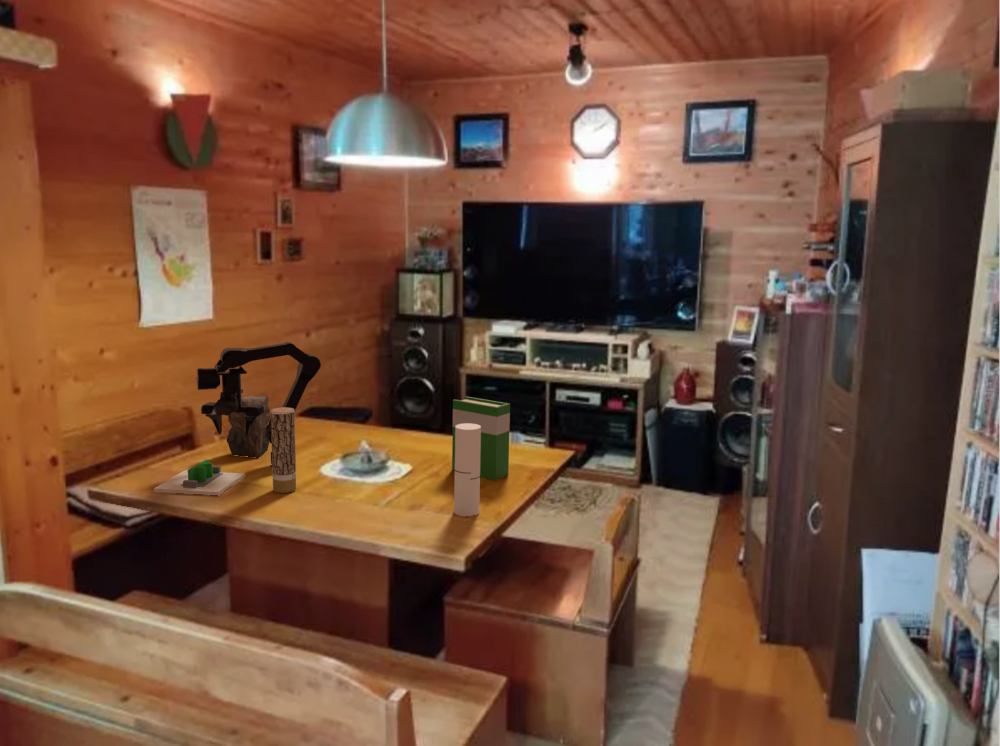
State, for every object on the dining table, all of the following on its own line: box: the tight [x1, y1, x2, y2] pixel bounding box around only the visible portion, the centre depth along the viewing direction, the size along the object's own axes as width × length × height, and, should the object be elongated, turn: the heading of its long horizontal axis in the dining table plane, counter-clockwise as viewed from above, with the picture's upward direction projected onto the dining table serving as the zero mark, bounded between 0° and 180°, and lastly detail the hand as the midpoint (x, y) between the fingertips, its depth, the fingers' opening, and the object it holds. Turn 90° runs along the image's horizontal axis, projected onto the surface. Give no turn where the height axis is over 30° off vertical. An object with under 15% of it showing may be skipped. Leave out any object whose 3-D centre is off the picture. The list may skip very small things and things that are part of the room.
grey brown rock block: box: [226, 394, 271, 459], centre depth 267 cm, size 13×13×20 cm
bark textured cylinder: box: [270, 407, 297, 494], centre depth 228 cm, size 7×7×25 cm
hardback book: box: [451, 396, 511, 481], centre depth 250 cm, size 18×7×24 cm, turn 56°
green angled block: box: [187, 459, 214, 482], centre depth 234 cm, size 11×4×5 cm, turn 174°
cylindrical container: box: [453, 423, 481, 517], centre depth 213 cm, size 7×7×25 cm
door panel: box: [153, 465, 246, 496], centre depth 233 cm, size 20×18×3 cm
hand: (233, 435), depth 246 cm, fingers open, 9 cm apart
